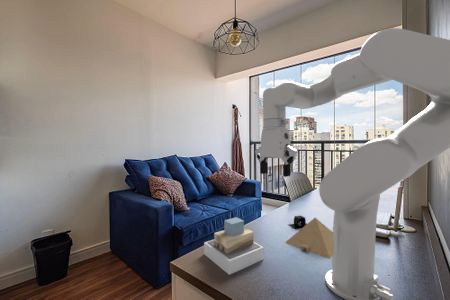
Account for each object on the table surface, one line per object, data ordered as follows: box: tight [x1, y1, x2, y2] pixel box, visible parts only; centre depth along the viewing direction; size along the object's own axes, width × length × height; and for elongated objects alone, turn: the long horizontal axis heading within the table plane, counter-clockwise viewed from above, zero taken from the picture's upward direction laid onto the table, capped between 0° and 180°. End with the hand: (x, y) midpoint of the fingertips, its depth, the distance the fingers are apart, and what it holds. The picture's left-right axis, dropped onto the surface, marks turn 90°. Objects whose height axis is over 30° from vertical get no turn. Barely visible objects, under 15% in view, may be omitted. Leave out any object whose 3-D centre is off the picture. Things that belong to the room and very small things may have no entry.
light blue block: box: [223, 216, 245, 237], centre depth 72 cm, size 4×5×4 cm
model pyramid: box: [284, 217, 333, 259], centre depth 83 cm, size 17×17×10 cm
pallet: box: [213, 226, 254, 254], centre depth 72 cm, size 7×11×4 cm, turn 126°
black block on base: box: [287, 215, 308, 230], centre depth 99 cm, size 12×7×5 cm, turn 109°
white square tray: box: [203, 239, 265, 276], centre depth 73 cm, size 14×14×4 cm
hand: (274, 174), depth 76 cm, fingers open, 9 cm apart
